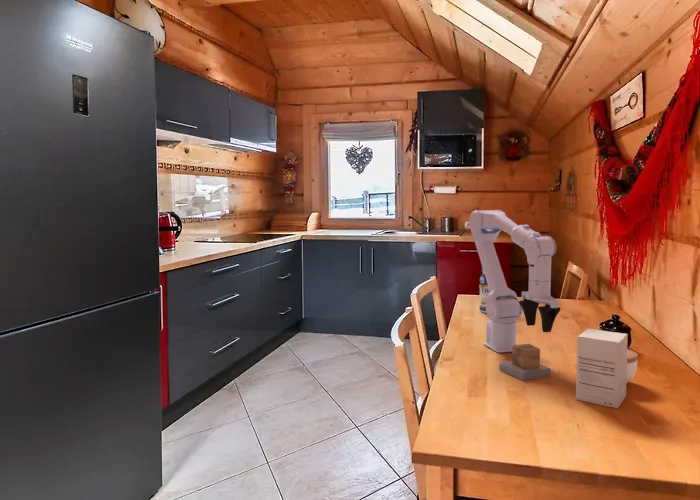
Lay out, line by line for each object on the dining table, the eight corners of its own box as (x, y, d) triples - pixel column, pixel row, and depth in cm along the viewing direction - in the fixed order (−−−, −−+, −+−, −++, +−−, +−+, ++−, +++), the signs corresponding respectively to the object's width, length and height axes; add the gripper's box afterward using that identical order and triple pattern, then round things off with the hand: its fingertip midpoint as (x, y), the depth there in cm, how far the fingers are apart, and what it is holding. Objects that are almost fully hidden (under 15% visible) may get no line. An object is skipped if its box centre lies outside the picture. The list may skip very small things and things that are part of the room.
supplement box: (585, 388, 122) (587, 327, 120) (626, 396, 116) (629, 333, 115) (574, 399, 115) (576, 335, 113) (617, 409, 109) (620, 342, 108)
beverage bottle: (498, 309, 211) (499, 262, 209) (501, 313, 203) (502, 264, 201) (478, 309, 212) (478, 262, 210) (480, 313, 204) (480, 264, 202)
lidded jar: (610, 392, 119) (612, 353, 118) (579, 377, 129) (580, 341, 128) (647, 387, 122) (649, 349, 121) (613, 372, 132) (614, 338, 131)
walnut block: (512, 363, 135) (512, 345, 135) (528, 361, 136) (528, 343, 136) (522, 369, 130) (522, 350, 130) (539, 367, 131) (540, 348, 131)
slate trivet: (499, 372, 136) (499, 363, 135) (525, 367, 139) (525, 358, 139) (522, 382, 127) (522, 373, 127) (549, 377, 131) (550, 368, 131)
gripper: (512, 277, 145) (511, 323, 146) (542, 285, 131) (541, 336, 132) (534, 276, 146) (533, 321, 148) (566, 283, 132) (564, 334, 134)
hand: (538, 328), depth 140 cm, fingers open, 7 cm apart
